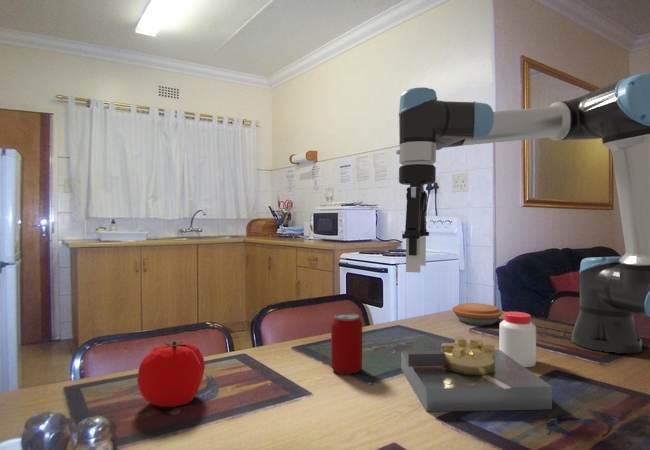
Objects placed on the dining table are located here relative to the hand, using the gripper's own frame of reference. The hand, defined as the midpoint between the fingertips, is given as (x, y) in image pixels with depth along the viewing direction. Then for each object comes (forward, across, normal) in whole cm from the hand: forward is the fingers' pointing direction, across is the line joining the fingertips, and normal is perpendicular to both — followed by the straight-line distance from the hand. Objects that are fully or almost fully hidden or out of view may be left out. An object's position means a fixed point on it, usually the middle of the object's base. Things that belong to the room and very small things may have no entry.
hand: (416, 268), depth 88 cm
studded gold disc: (+18, +4, +7) cm, 20 cm away
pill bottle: (+23, -16, +22) cm, 35 cm away
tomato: (+23, +26, -41) cm, 54 cm away
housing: (+23, +3, +10) cm, 25 cm away
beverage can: (+23, +1, -15) cm, 27 cm away
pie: (+23, -54, +14) cm, 60 cm away
